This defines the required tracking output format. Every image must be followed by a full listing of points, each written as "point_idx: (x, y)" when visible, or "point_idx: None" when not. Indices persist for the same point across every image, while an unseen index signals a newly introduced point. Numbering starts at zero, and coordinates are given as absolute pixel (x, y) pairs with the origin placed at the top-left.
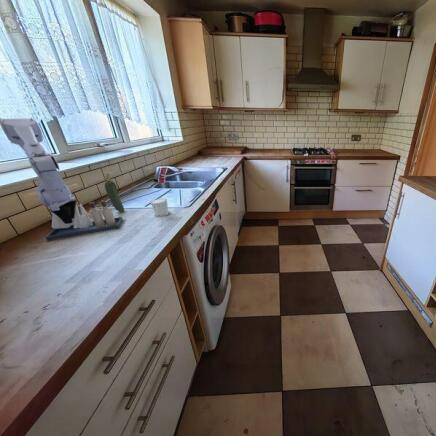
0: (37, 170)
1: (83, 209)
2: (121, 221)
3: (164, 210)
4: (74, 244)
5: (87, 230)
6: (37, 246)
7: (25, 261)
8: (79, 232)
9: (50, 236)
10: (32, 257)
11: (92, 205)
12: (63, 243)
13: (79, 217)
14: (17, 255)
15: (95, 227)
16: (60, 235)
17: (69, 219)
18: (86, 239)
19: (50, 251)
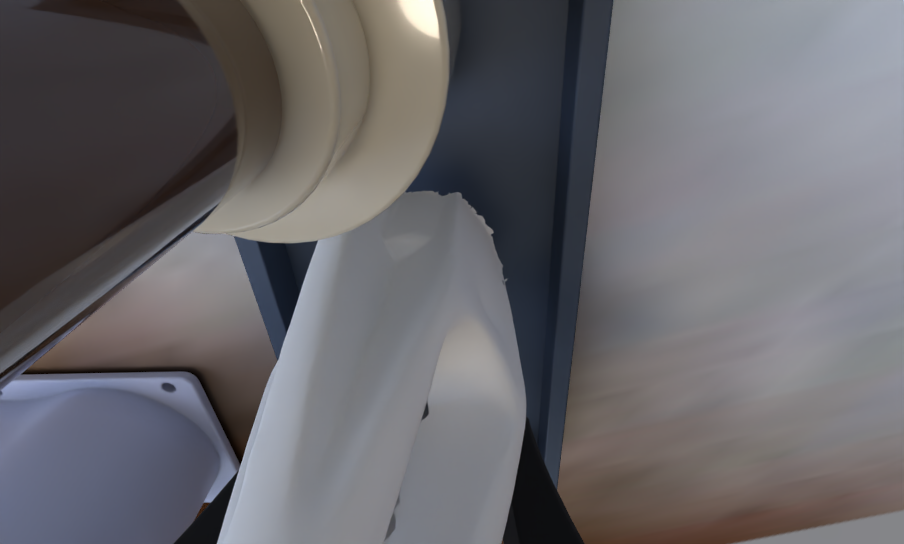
0: None
1: (385, 447)
2: None
3: None
4: (800, 231)
5: (592, 170)
6: (608, 476)
7: (865, 463)
8: (579, 260)
9: (558, 469)
10: (824, 448)
11: (89, 69)
12: (679, 338)
13: (516, 374)
14: (698, 520)
15: None
16: (563, 409)
17: (543, 486)
18: (737, 135)
19: (805, 379)
